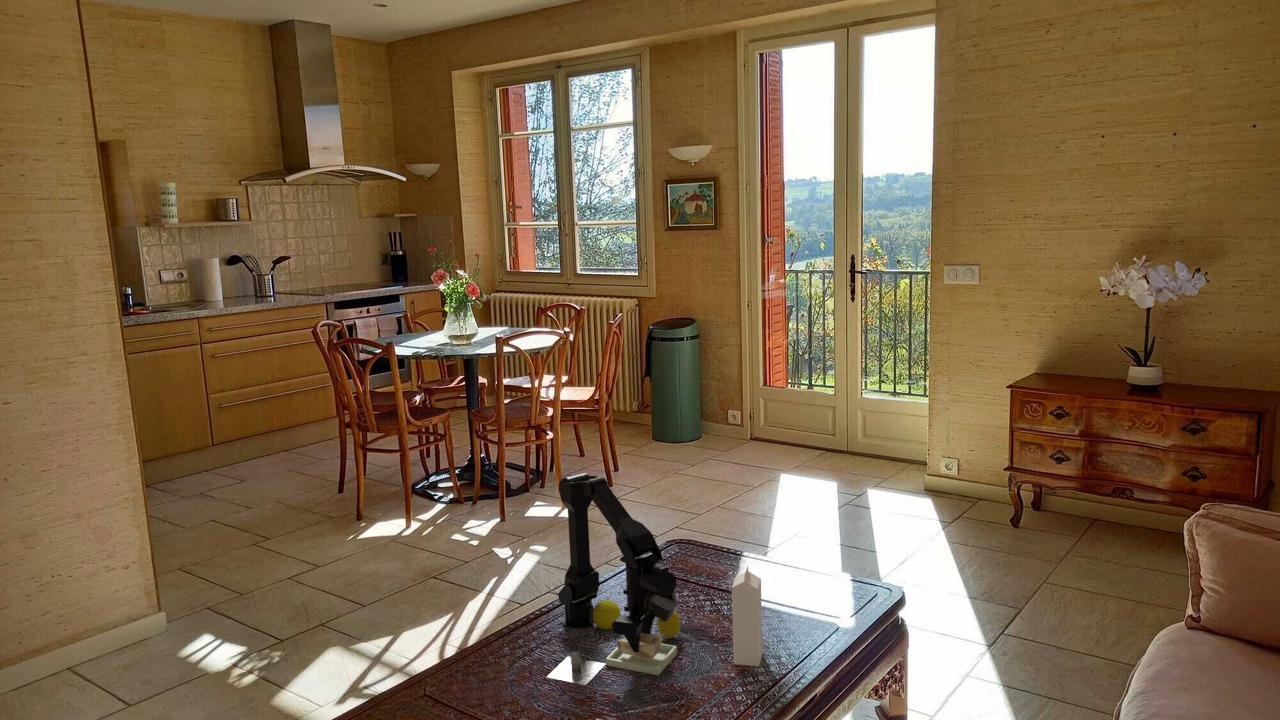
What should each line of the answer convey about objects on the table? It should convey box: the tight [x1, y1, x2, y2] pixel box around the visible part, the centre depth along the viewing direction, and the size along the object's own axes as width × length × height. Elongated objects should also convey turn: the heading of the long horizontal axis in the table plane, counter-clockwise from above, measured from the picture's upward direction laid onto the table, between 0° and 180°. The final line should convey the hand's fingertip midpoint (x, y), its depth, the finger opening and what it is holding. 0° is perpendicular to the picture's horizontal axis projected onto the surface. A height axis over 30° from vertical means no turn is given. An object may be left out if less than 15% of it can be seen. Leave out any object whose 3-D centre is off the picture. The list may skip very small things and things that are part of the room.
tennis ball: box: [593, 599, 622, 630], centre depth 228 cm, size 7×7×7 cm
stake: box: [546, 650, 606, 686], centre depth 208 cm, size 10×10×5 cm
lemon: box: [657, 609, 681, 640], centre depth 221 cm, size 6×6×8 cm
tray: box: [605, 643, 678, 676], centre depth 212 cm, size 13×11×2 cm
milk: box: [731, 565, 763, 667], centre depth 209 cm, size 6×6×22 cm
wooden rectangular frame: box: [617, 633, 663, 659], centre depth 212 cm, size 10×6×3 cm, turn 66°
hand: (641, 646), depth 211 cm, fingers closed on wooden rectangular frame, 5 cm apart
